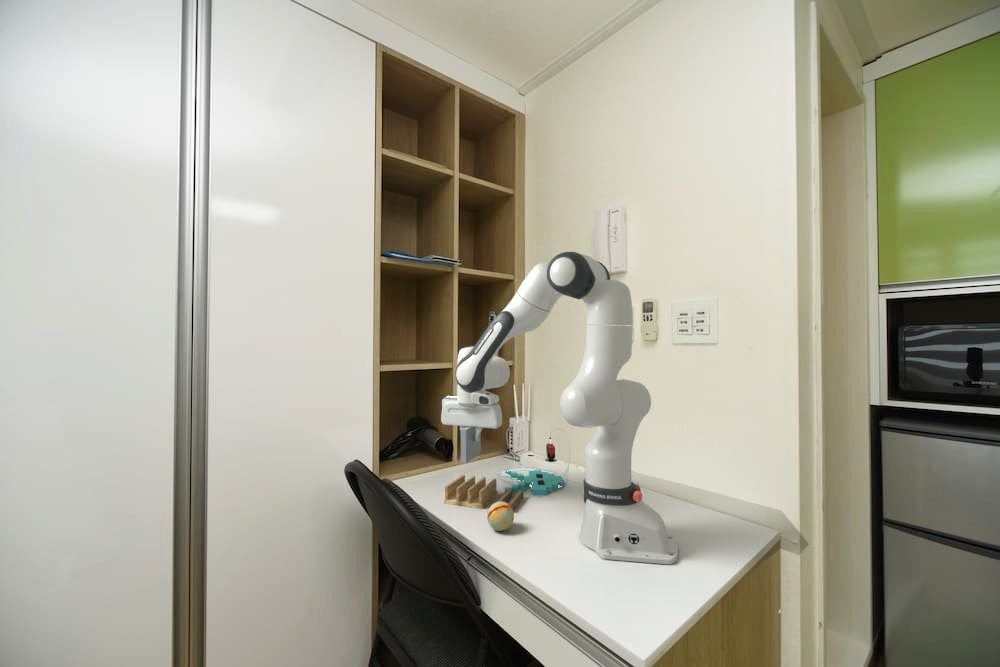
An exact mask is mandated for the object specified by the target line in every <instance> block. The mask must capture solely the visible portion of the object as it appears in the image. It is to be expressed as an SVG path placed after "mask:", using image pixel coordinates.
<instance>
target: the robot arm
mask: <svg viewBox="0 0 1000 667" xmlns="http://www.w3.org/2000/svg"><path fill="white" fill-rule="evenodd" d="M563 296H566V297H570V298H572V299H576V300H582V301H583V302H584V303H585V306H586V330H585V344H584V353H583V354H584V355H583V359H582V362H581V366H580V367H579V369H578V372H577V374H576V376H575V377H574V378H573V380H572V382H571V383H570V384H569V385H568V386H566V387H565V388H564V390H563V391H562V393H561V395H560V399H559V409H560V412H561V415H562V418H564V419H565V421H566V422H567V423H568V424H569V425H571V426H574V427H579V428H586V429H587V428H588V429H591V428H597V431H596V432H595V435H594V436H593V437H592V439H591V440H590V441H589V442H588V443H587V445H586V446H585V449H584V479H583V483H582V495H583V496H582V497H583V498H582V499H583V502H584V506H583V507H584V509H583V518H582V524H581V529H580V532H579V535H578V536H579V540H580V541H581V543H583V545H584V546H586V547H587V548H589V549H591V550H592V551H594V552H596V555H598V556H599V557H600V558H601V559H604V560H614V561H622V562H623V561H626V562H637V563H638V562H639V563H648V564H661V565H673V564H674V563H676V561H677V560H678V557H679V547H678V543H677V541H676V538H674V536H672V534H670V533H669V532H668V531H667V528H666V527H667V526H666V525H665V522H664V520H663V517H662V516H661V515H660V513H658V512H657V511H656V510H655V509H654V508H652V507H651V506H649V505H648V504H647V503H646V502H645V501H643V493H642V492H641V487H640V485H639V483H637V484H636V483H635V482H633V481H632V453H633V452H632V451H633V447H634V441H635V438H636V434H637V432H638V429H639V427H640V424H641V423H642V421H643V420H644V418H645V417H646V416H647V414H648V413H649V412H650V409H651V405H652V399H651V398H652V397H651V394H650V391H649V390H648V389H647V388H648V387H646V386H645V385H644V384H642V382H641V383H640V382H639V381H638V382H637V381H635V380H630V379H623V378H622V379H621V378H620V379H617V378H618V375H619V374H620V372H621V369H622V368H623V367H624V365H626V364H627V363H628V362H629V361H630V360H631V356H632V354H633V353H632V352H633V325H634V322H633V321H634V318H633V317H634V316H633V314H634V313H633V301H632V295H631V290H630V288H629V286H628V285H627V284H626V283H624V282H622V281H619V280H617V279H611V275H610V273H609V269H608V268H607V267H606V265H604V264H603V263H602V262H600V261H598V260H596V259H594V258H593V257H591V256H590V255H589V256H588V255H585V254H584V253H583V254H582V253H579V252H576V251H565V252H560V253H558V254H555V256H554V257H553V258H552V259H551V260H550V262H539V263H537V264H536V265H534V266H533V268H532V269H531V270H530V271H529V273H528V274H527V275H526V277H525V278H524V280H523V281H522V282H521V283H520V285H519V287H518V289H517V290H516V291H515V294H514V296H513V297H512V299H511V300H510V301H509V302H508V303H507V305H506V306H505V307H504V308H503V310H502V311H501V312H499V313H498V314H497V315H496V317H494V319H493V320H491V322H490V323H489V325H488V326H487V327H486V329H485V330H484V332H483V333H482V334H481V336H480V338H479V339H478V340H477V342H476V343H475V345H470V346H469V345H468V346H464V347H462V348H460V350H458V351H459V352H458V355H457V359H456V360H457V362H456V363H457V364H456V367H455V374H454V375H455V380H456V382H457V386H456V395H446V396H445V397H443V399H442V400H441V407H442V409H441V415H440V422H441V423H442V425H444V426H445V425H446V426H457V427H459V430H460V431H461V429H463V428H465V427H467V426H468V427H475V429H476V431H477V432H476V434H475V435H473V436H472V438H473V439H472V440H473V441H479V434H480V433H481V432H482V430H483V429H499V428H500V427H501V426H502V424H503V414H502V407H501V405H500V403H498V402H500V396H499V395H497V394H494V393H492V392H490V391H487V390H490V389H495V388H496V389H497V388H501V387H504V386H505V385H507V383H508V382H509V380H510V378H511V367H510V364H509V362H508V361H507V360H506V359H505V358H504V357H500V356H498V355H497V353H498V352H499V351H500V349H501V348H502V346H503V345H504V344H505V343H506V342H507V341H509V340H510V339H512V338H514V337H516V336H519V335H522V334H525V333H529V332H532V331H534V330H536V329H538V328H539V327H540V326H541V325H542V324H543V323H544V322H545V320H546V319H547V318H548V316H549V314H550V313H551V312H552V309H553V308H554V306H555V304H556V303H557V301H558V300H559V299H560V298H561V297H563Z"/></svg>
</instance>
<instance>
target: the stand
mask: <svg viewBox="0 0 1000 667" xmlns="http://www.w3.org/2000/svg"><path fill="white" fill-rule="evenodd" d="M524 491H525V490H519V492H518V493H515V495H514V493H513V489H511V488H510V489H509V490H508V491H507V492H506V493H505V492H504V494H503V495H502V496H501V497H500V498H499V499H498V500H497V501H496V502H499V501H503V502H506V503H508V504H509V505H510V506H511V507H512V509H513V512H514V511H515V509H516V508H517V507H518V505H520V504H521V502H522V501H523V499H524V498H525V497H524V496H525V495H524Z"/></svg>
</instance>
